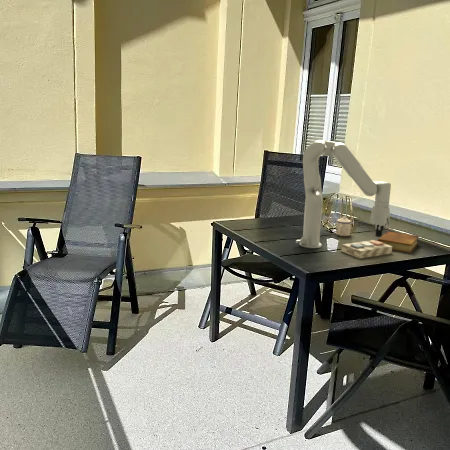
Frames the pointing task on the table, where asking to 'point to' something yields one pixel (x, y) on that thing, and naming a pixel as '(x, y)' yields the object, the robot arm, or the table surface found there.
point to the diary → (399, 241)
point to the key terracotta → (377, 243)
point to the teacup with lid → (343, 227)
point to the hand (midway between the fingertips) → (378, 236)
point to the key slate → (357, 246)
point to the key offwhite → (367, 244)
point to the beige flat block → (366, 250)
